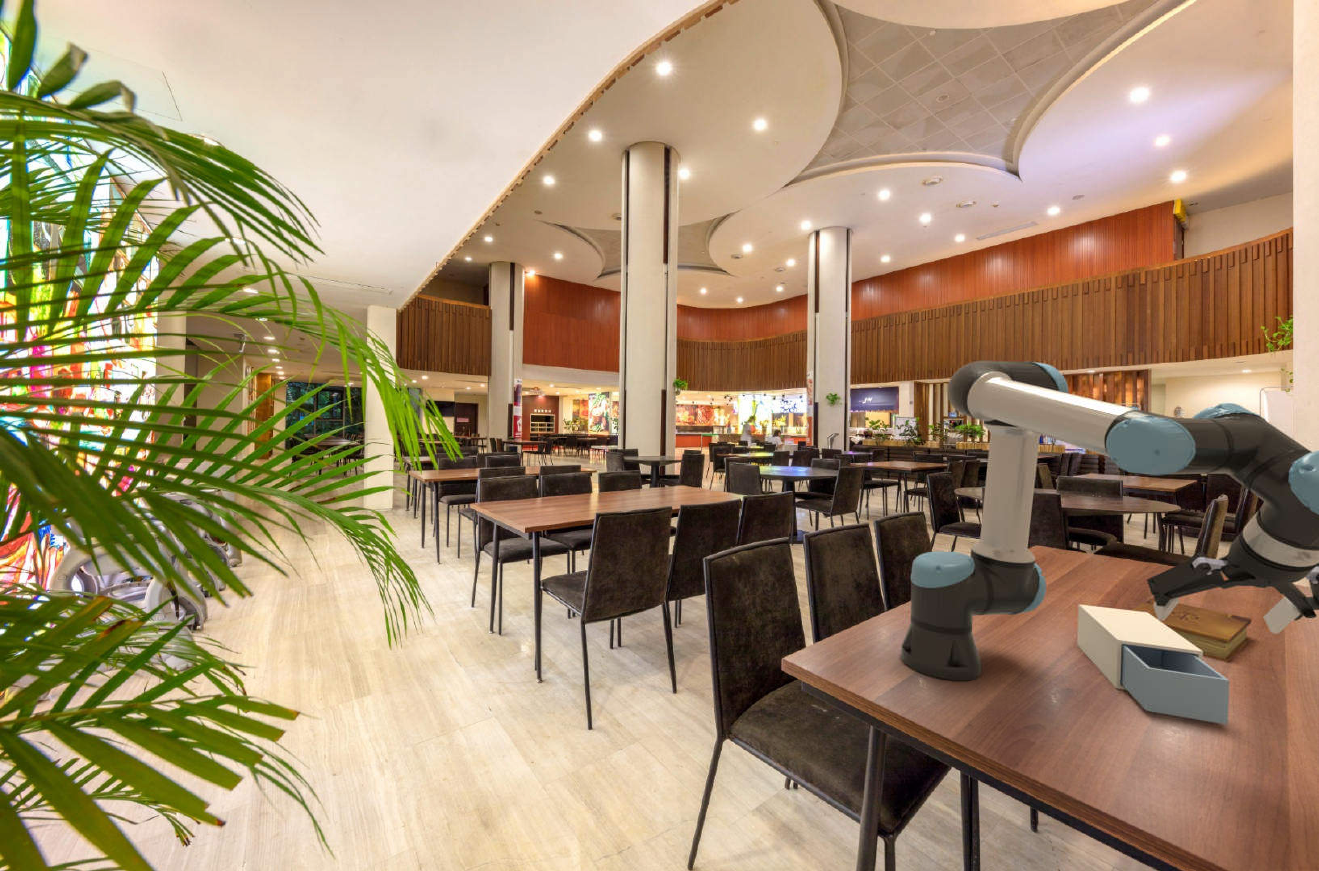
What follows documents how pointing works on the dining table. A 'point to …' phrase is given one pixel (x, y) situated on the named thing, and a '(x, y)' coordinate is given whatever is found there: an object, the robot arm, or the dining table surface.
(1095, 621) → the mailer sleeve
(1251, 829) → the dining table surface
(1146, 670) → the tray
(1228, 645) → the diary
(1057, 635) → the dining table surface
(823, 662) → the dining table surface
